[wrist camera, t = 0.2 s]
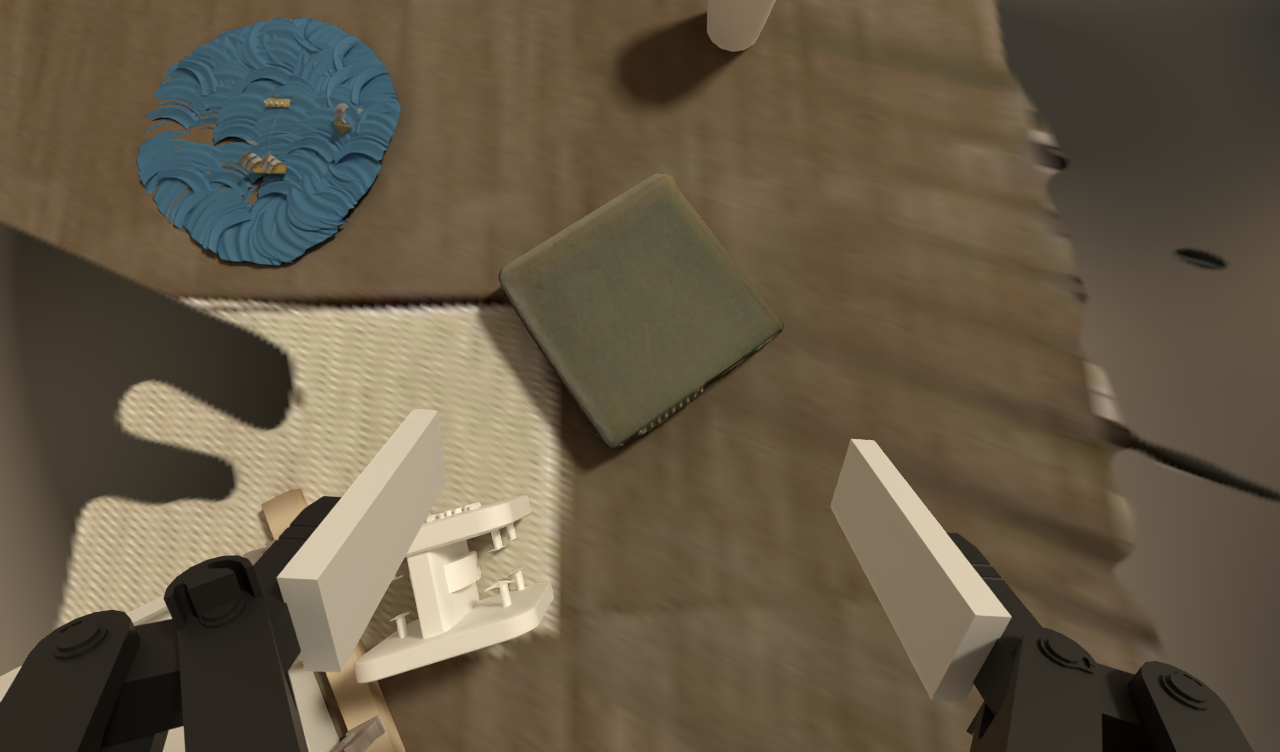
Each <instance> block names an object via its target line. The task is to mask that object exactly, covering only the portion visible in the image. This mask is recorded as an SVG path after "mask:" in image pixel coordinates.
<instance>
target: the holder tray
mask: <svg viewBox="0 0 1280 752" xmlns="http://www.w3.org/2000/svg"><path fill="white" fill-rule="evenodd" d="M243 557H244V556H243ZM163 598H164V595H163V596H161V597H159V598H157V599H155V600H153V601H151V602H149V603H147V604H145V605H143V606H141V607H139V608H137V609H135V610H133V611H131V612H129V613H127V615H128V616H129V617H130V618H131V620H132V622H133V624H134V626H138V625H143V624H148V623H153V622H158V621H163V620H168V619H172V617H171V615H170V612H169V610H168V608H167V606H166V604H165V601H164V599H163ZM21 667H22V666H20V667H18V668H16V669H14V670H12V671H11V672H8V673H7V674H4V675H2V676H0V701H2V699H3V697H4V696H5V694H6V692H7V691H8V689H9V687H10V686H11V684H12V682H13V680H14V679H15V677H16V675H17V674H18V672H19V670H20V669H21ZM288 673H289V676H290V679H291V683H292V687H293V691H294V695H295V699H296V703H297V707H298V711H299V715H300V719H301V723H302V727H303V731H304V735H305V739H306V743H307V747H308V751H309V752H331V751H332V750H333V749H334V748H335V747H336V746H337V745H338V744H339V743H340V741H339V738H338V736H337V733H336V730H335V728H334V725H333V722H332V720H331V717H330V715H329V712H328V709H327V707H326V704H325V702H324V699H323V696H322V694H321V691H320V688H319V686H318V683H317V681H316V678H315V675H314V673H313V671H305V669H304V665H303V662H302V660H301V661H300V662H298V663H296V664H295V665H293V666H291V668H290V669H289V671H288ZM163 752H185V742H184V726H182V727H178V728H175V729H171V730H169V732H168V735H167V738H166V742H165V745H164V749H163Z"/></svg>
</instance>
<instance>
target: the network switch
mask: <svg viewBox="0 0 1280 752" xmlns="http://www.w3.org/2000/svg"><path fill="white" fill-rule="evenodd" d="M499 281H500V284H501V286H502V288H503V290H504V294H505V296H506V298H507V300H508V301H509V302H510V304H511V305H512V307H513V308H514V310H515V311H516V313H517V314H518V316H519V317H520V318H521V320H522V322H523V324H524V325H525V327H526V328H527V330H528V332H529V333H530V335H531V337H532V338H533V339H534V341H535V342H536V344H537V346H538V347H539V349H540V350H541V351H542V353H543V354H544V356H545V357H546V359H547V360H548V361H549V363H550V365H551V367H552V368H553V370H554V371H555V372H556V374H557V375H558V377H559V379H560V380H561V382H562V383H563V385H564V387H565V388H566V390H567V391H568V392H569V393H570V395H571V397H572V398H573V400H574V402H575V403H576V405H577V406H578V407H579V409H580V411H581V412H582V414H583V415H584V417H585V418H586V420H587V422H588V423H589V424H590V426H591V427H592V428H593V430H594V432H595V434H596V435H597V436H598V438H599V439H600V440H601V441H602V442H603V443H604V444H605V445H606V446H607V447H611V448H614V449H618V448H620V447H622V446H623V445H624V444H626V443H627V442H629V441H630V440H632V439H634V438H638V437H641V436H642V435H644V434H645V433H647V432H649V431H650V430H651V429H652V428H654V427H656V426H658V425H660V424H661V423H663V422H665V421H666V420H667V419H668V418H669V417H670V416H672V415H673V414H674V413H675V412H677V411H679V410H680V409H682V408H683V407H684V406H686V405H687V404H688V403H689V402H691V401H693V400H694V399H695V398H696V397H698V396H699V395H701V394H702V393H703V388H704V387H705V386H706V385H708V384H709V383H711V382H712V381H714V380H715V379H717V378H719V377H720V376H722V375H724V374H726V373H728V372H729V371H730V370H731V369H732V368H733V367H735V366H736V365H738V364H740V363H741V362H743V361H744V360H745V359H746V358H747V357H749V356H751V355H752V354H754V353H756V352H757V351H758V350H759V349H760V348H762V347H763V346H765V345H766V344H768V343H769V342H770V341H771V340H773V339H774V338H776V337H777V336H778V334H779V333H781V332H782V330H783V328H784V324H783V323H782V322H781V321H780V320H779V319H778V318H777V316H776V315H775V314H774V313H773V312H772V310H771V309H770V308H769V306H768V305H767V304H766V302H765V301H764V299H763V298H762V297H761V295H760V294H759V293H758V292H757V291H756V290H755V288H754V287H753V286H752V284H751V283H750V282H749V280H748V279H747V278H746V276H745V275H744V273H743V272H742V271H741V269H740V268H739V266H738V265H737V264H736V262H735V261H734V260H733V258H732V257H731V256H730V254H729V253H728V252H727V251H726V249H725V248H724V247H723V246H722V244H721V243H720V242H719V240H718V239H717V238H716V236H715V235H714V234H713V232H712V231H711V230H710V229H709V227H708V226H707V225H706V224H705V222H704V221H703V220H702V218H701V217H700V216H699V214H698V213H697V212H696V210H695V209H694V208H693V207H692V205H691V204H690V203H689V202H688V200H687V199H686V198H685V196H684V195H683V194H682V192H681V191H680V189H679V188H678V186H677V184H676V182H675V180H674V178H673V177H671V176H669V175H667V174H663V173H659V174H655V175H652V176H650V177H649V178H647V179H645V180H644V181H642V182H640V183H639V184H637V185H636V186H634V187H632V188H631V189H629V190H627V191H626V192H624V193H622V194H621V195H619V196H617V197H616V198H614V199H612V200H611V201H609V202H607V203H606V204H604V205H603V206H601V207H599V208H598V209H596V210H595V211H593V212H592V213H590V214H589V215H587V216H585V217H584V218H582V219H581V220H579V221H577V222H576V223H574V224H572V225H570V226H569V227H567V228H565V229H564V230H562V231H561V232H559V233H558V234H556V235H554V236H553V237H551V238H549V239H548V240H546V241H544V242H543V243H541V244H539V245H538V246H536V247H535V248H533V249H532V250H530V251H529V252H527V253H525V254H523V255H522V256H520V257H518V258H517V259H515V260H514V261H512V262H510V263H509V264H508V265H506V266H505V267H504V268H502V269H501V271H500V273H499Z"/></svg>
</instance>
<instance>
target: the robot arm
mask: <svg viewBox="0 0 1280 752" xmlns="http://www.w3.org/2000/svg"><path fill="white" fill-rule="evenodd" d="M445 483H446V482H445V472H444V462H443V452H442V442H441V432H440V422H439V412H438V411H432V410H417V409H413V410H412V412H411V413H410V414H409V415H408V417H407V418H406V419H405V420H404V421H403V423H402V424H401V425H400V426H399V428H398V429H397V430H396V431H395V433H394V434H393V435H392V436H391V437H390V439H389V440H388V441H387V442H386V444H385V445H384V446H383V447H382V449H381V450H380V451H379V452H378V453H377V455H376V456H375V457H374V458H373V460H372V461H371V462H370V463H369V465H368V466H367V467H366V468H365V469H364V471H363V472H362V473H361V474H360V476H359V477H358V478H357V479H356V481H355V482H354V483H353V484H352V485H351V487H350V488H349V489H348V490H347V492H346V493H345V494H344V495H343V497H329V496H323V497H322V498H320V499H318V500H317V501H315V502H314V503H312V504H311V505H309V506H307V507H306V508H304V509H303V510H302V511H301V512H300V514H299V515H298V516H297V517H296V518H295V519H294V520H293V521H292V523H291V524H290V527H289V528H288V527H287V528H286V529H285V530H284V532H283V533H282V534H281V535H280V536H279V539H278V540H276V541H275V542H274V543H273V544H272V545H271V546H270V547H269V548H268V549H267V551H266V552H265V553H264V554H263V555H262V556H261V557H260V558H259V560H258V561H257V562H256V563H255V564H254V565H252V563H251V562H250V561H249V559H247V558H244V557H241V556H238V555H235V556H221V557H217V558H213V559H209V560H206V561H204V562H201V563H199V564H197V565H195V566H193V567H190V568H189V569H188V570H186V571H185V572H183V573H182V574H180V575H179V576H177V577H176V578H175V579H174V580H173V582H172V583H171V584H170V585H169V586H168V587H167V589H166V592H165V595H164V598H163V599H164V601H165V604H166V606H167V608H168V610H169V612H170V615H171V617H172V619H168V620H163V621H158V622H153V623H148V624H143V625H138V626H134V624H133V622H132V620H131V618H130V617H129V616H128V615H127V614H126V613H125V612H122V611H116V610H108V611H100V612H94V613H91V614H88V615H85V616H83V617H80V618H77V619H74V620H73V621H71V622H69V623H67V624H65V625H63V626H61V627H59V628H57V629H56V630H54V631H53V632H52V633H50V634H49V635H48V636H46V637H45V638H44V639H42V640H41V641H40V642H39V643H38V644H37V645H36V647H35V648H34V649H33V650H32V651H31V652H30V654H29V655H28V657H27V658H26V660H25V662H24V664H23V665H22V667H21V669H20V670H19V672H18V674H17V675H16V677H15V679H14V680H13V682H12V684H11V686H10V687H9V689H8V691H7V692H6V694H5V696H4V697H3V699H2V701H1V703H0V752H163V749H164V745H165V742H166V738H167V735H168V732H169V730H171V729H175V728H178V727H182V726H184V742H185V752H309V751H308V747H307V743H306V739H305V735H304V731H303V727H302V723H301V719H300V715H299V711H298V707H297V703H296V699H295V695H294V691H293V687H292V683H291V679H290V676H289V673H288V671H289V669H290V668H291V666H292V665H293V663H294V661H295V660H296V658H297V657H298V655H299V654H300V656H301V659H302V662H303V665H304V669H305V671H318V672H340V673H341V672H342V671H343V669H344V667H345V665H346V663H347V662H348V660H349V658H350V656H351V654H352V652H353V651H354V649H355V647H356V645H357V643H358V641H359V640H360V638H361V636H362V634H363V632H364V631H365V629H366V627H367V625H368V623H369V621H370V620H371V618H372V616H373V614H374V612H375V610H376V609H377V607H378V605H379V603H380V601H381V600H382V598H383V596H384V594H385V592H386V590H387V589H388V587H389V585H390V583H391V581H392V579H393V578H394V576H395V574H396V572H397V570H398V569H399V567H400V565H401V563H402V561H403V559H404V558H405V556H406V554H407V552H408V550H409V548H410V547H411V545H412V543H413V541H414V539H415V538H416V536H417V534H418V532H419V530H420V528H421V527H422V525H423V523H424V521H425V519H426V517H427V516H428V514H429V512H430V510H431V508H432V507H433V505H434V503H435V501H436V499H437V497H438V496H439V494H440V492H441V490H442V488H443V486H444V485H445ZM830 507H831V509H832V511H833V513H834V515H835V517H836V519H837V521H838V522H839V524H840V526H841V528H842V530H843V532H844V534H845V536H846V538H847V540H848V542H849V543H850V545H851V547H852V549H853V551H854V553H855V555H856V557H857V559H858V561H859V563H860V565H861V566H862V568H863V570H864V572H865V574H866V576H867V578H868V580H869V582H870V584H871V586H872V587H873V589H874V591H875V593H876V595H877V597H878V599H879V601H880V603H881V605H882V607H883V609H884V610H885V612H886V614H887V616H888V618H889V620H890V622H891V624H892V626H893V628H894V630H895V631H896V633H897V635H898V637H899V639H900V641H901V643H902V645H903V647H904V649H905V651H906V653H907V654H908V656H909V658H910V660H911V662H912V664H913V666H914V668H915V670H916V672H917V674H918V675H919V677H920V679H921V681H922V683H923V685H924V687H925V689H926V691H927V693H928V695H929V697H930V698H931V700H943V701H965V699H966V697H967V695H968V693H969V692H970V690H971V688H972V686H973V685H974V684H975V686H976V688H977V689H978V691H979V693H980V694H981V696H982V697H983V699H984V702H983V704H982V706H981V707H980V709H979V711H978V712H977V714H976V716H975V717H974V719H973V721H972V723H971V724H970V726H969V728H968V729H967V732H968V733H970V734H971V735H972V734H973V733H974V735H973V739H972V744H971V749H970V752H1253V750H1252V748H1251V746H1250V745H1249V743H1248V741H1247V740H1246V738H1245V736H1244V734H1243V733H1242V731H1241V729H1240V728H1239V726H1238V724H1237V723H1236V721H1235V719H1234V717H1233V716H1232V714H1231V712H1230V710H1229V709H1228V707H1227V706H1226V705H1225V704H1224V702H1223V701H1222V700H1221V699H1220V697H1219V696H1218V695H1217V694H1216V693H1214V692H1213V691H1212V690H1211V689H1210V688H1209V687H1208V686H1206V685H1205V684H1204V683H1202V682H1201V681H1200V680H1198V679H1197V678H1195V677H1193V676H1192V675H1190V674H1188V673H1187V672H1185V671H1183V670H1181V669H1178V668H1176V667H1174V666H1172V665H1169V664H1165V663H1161V662H1157V661H1152V662H1145V663H1144V664H1143V666H1142V667H1141V668H1140V669H1139V670H1138V672H1137V673H1136V674H1135V675H1134V674H1131V673H1127V672H1124V671H1121V670H1118V669H1115V668H1111V667H1108V666H1105V665H1102V664H1098V663H1096V662H1095V661H1094V659H1093V658H1092V657H1091V655H1090V654H1089V653H1088V652H1087V651H1086V650H1084V649H1083V648H1082V647H1081V646H1080V645H1079V644H1077V643H1076V642H1075V641H1073V640H1071V639H1070V638H1068V637H1066V636H1065V635H1063V634H1061V633H1058V632H1056V631H1053V630H1051V629H1048V628H1043V627H1042V626H1041V625H1040V624H1039V623H1038V621H1037V620H1036V619H1035V618H1034V617H1033V615H1032V614H1031V613H1030V612H1029V610H1028V609H1027V608H1026V607H1025V606H1024V604H1023V603H1022V602H1021V601H1020V600H1019V598H1018V597H1017V596H1016V595H1015V594H1014V592H1013V591H1012V590H1011V589H1010V587H1009V586H1008V585H1007V584H1006V583H1005V581H1004V580H1001V577H1000V575H999V574H998V573H997V572H996V571H995V569H994V568H993V567H990V563H989V562H988V561H987V560H986V558H985V557H984V556H983V555H982V554H981V552H980V551H979V550H978V549H977V548H976V547H975V546H974V545H972V544H971V543H970V542H968V541H967V540H966V539H965V538H963V537H962V536H961V535H959V534H958V533H946V532H945V531H944V529H943V528H942V527H941V526H940V524H939V523H938V522H937V520H936V519H935V518H934V517H933V515H932V514H931V513H930V511H929V510H928V509H927V508H926V506H925V505H924V504H923V502H922V501H921V500H920V499H919V497H918V496H917V495H916V493H915V492H914V491H913V490H912V488H911V487H910V486H909V485H908V483H907V482H906V481H905V479H904V478H903V477H902V476H901V474H900V473H899V472H898V470H897V469H896V468H895V467H894V465H893V464H892V463H891V461H890V460H889V459H888V458H887V456H886V455H885V454H884V452H883V451H882V450H881V449H880V447H879V446H878V445H877V443H876V442H875V441H873V440H859V439H851V441H850V444H849V447H848V450H847V454H846V457H845V460H844V463H843V467H842V470H841V473H840V476H839V480H838V483H837V486H836V489H835V493H834V496H833V499H832V502H831V506H830Z"/></svg>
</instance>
